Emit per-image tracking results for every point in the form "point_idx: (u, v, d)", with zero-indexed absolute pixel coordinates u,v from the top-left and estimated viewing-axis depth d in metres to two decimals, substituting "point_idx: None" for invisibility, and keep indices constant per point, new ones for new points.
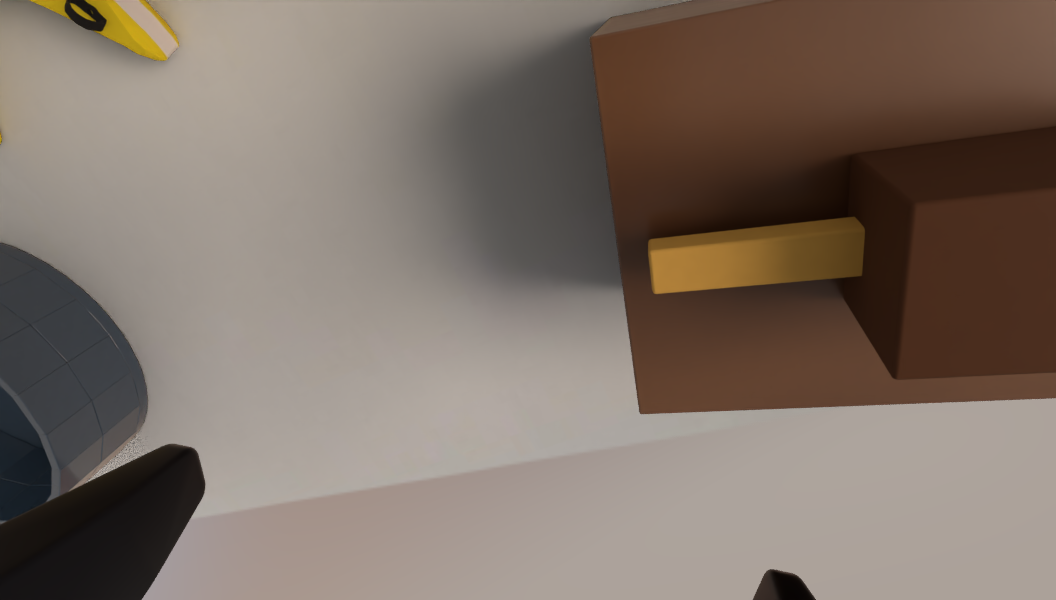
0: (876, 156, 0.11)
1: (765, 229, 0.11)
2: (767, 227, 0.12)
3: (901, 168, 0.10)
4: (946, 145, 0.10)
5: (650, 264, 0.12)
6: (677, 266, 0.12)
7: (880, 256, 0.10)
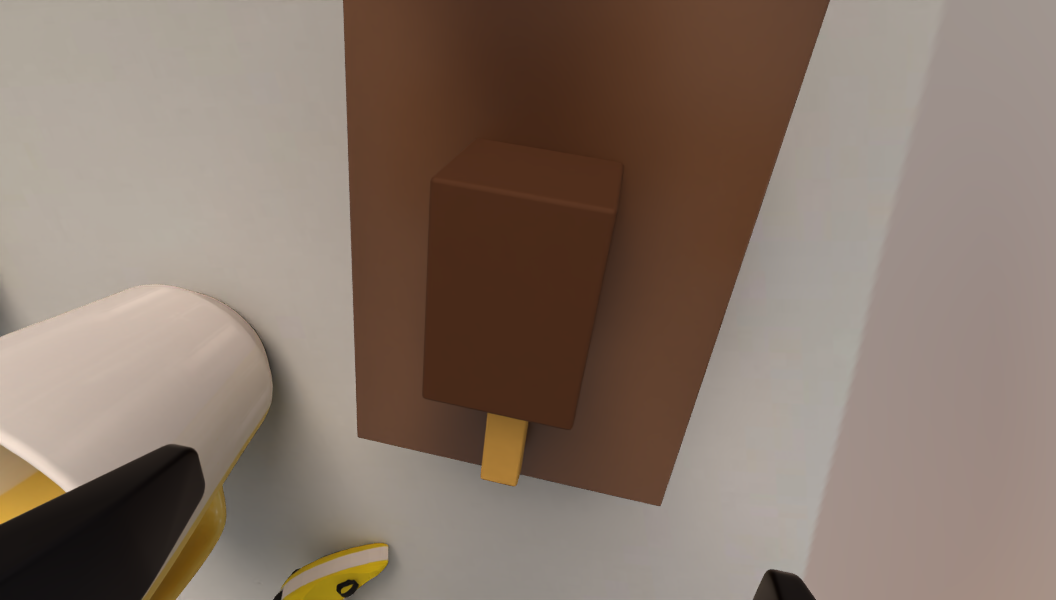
0: None
1: None
2: None
3: None
4: None
5: None
6: (495, 468, 0.15)
7: None
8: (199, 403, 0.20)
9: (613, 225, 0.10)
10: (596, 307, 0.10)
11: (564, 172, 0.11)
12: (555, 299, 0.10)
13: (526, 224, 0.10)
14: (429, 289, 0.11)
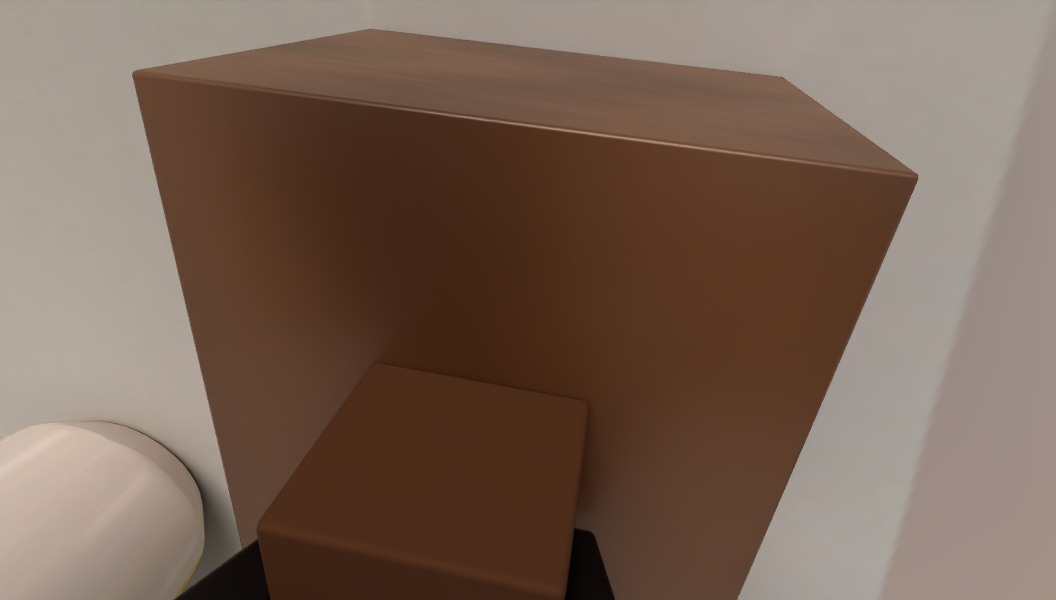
0: None
1: None
2: None
3: None
4: None
5: None
6: None
7: None
8: (90, 595, 0.16)
9: None
10: None
11: (491, 457, 0.07)
12: None
13: (417, 595, 0.06)
14: None
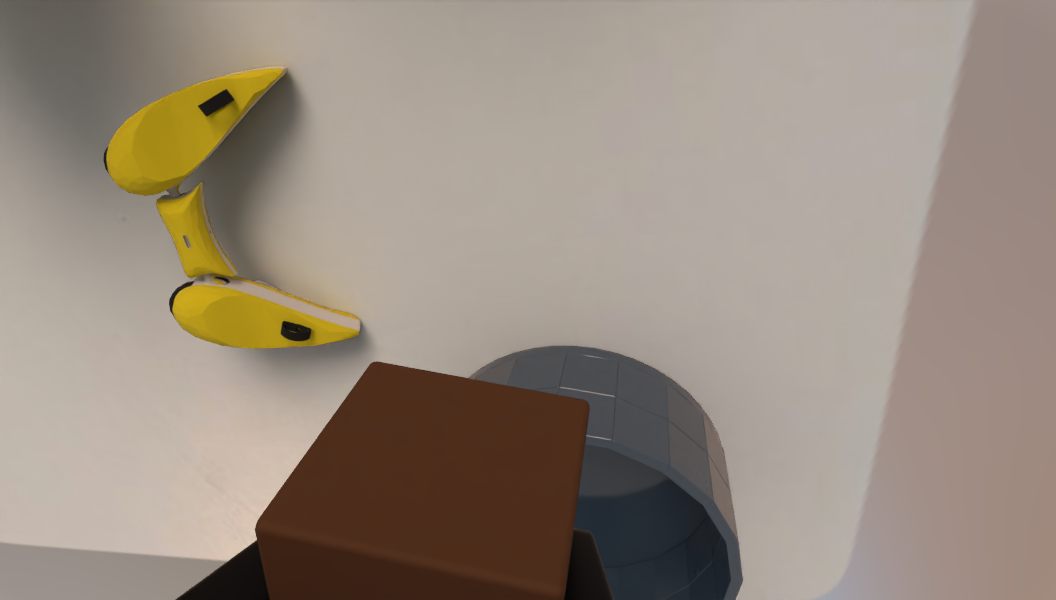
0: None
1: None
2: None
3: None
4: None
5: None
6: None
7: None
8: None
9: None
10: None
11: (491, 456, 0.07)
12: None
13: (417, 594, 0.06)
14: None
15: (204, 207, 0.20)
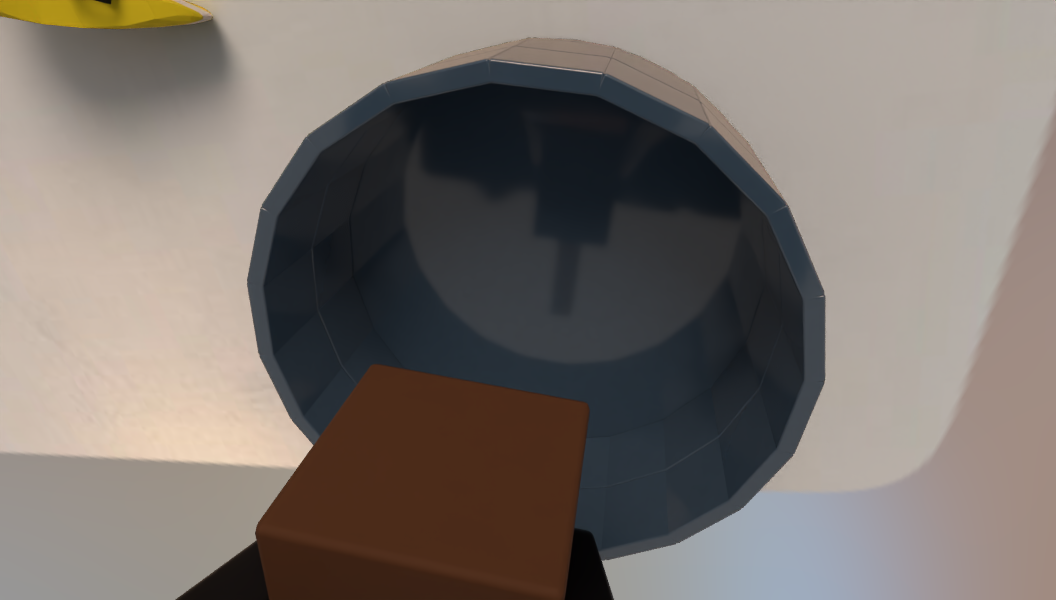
0: None
1: None
2: None
3: None
4: None
5: None
6: None
7: None
8: None
9: None
10: None
11: (490, 459, 0.07)
12: None
13: (416, 599, 0.06)
14: None
15: None
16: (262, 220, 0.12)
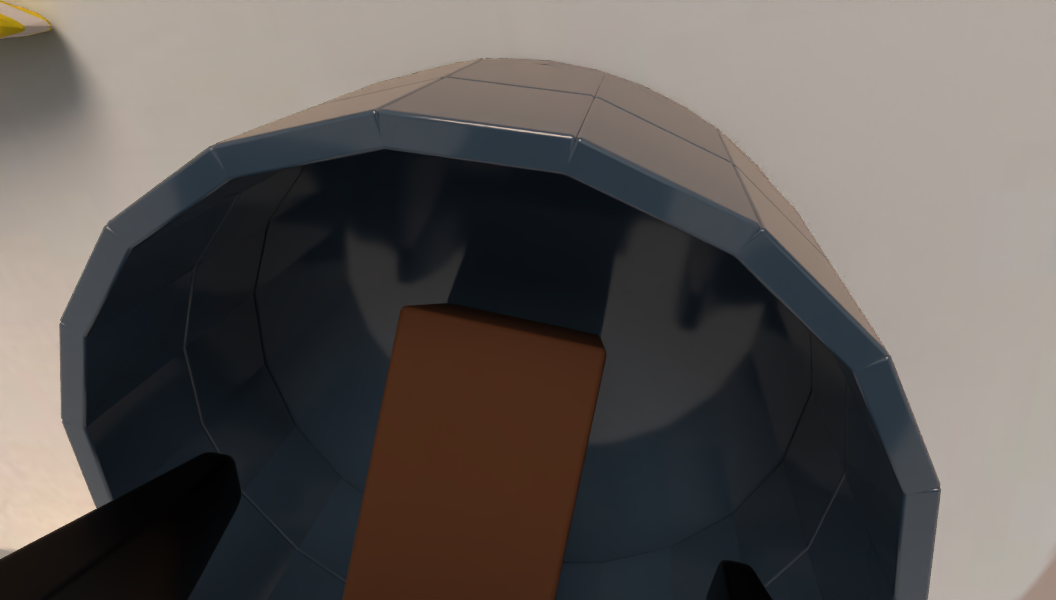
0: None
1: None
2: None
3: None
4: None
5: None
6: None
7: None
8: None
9: (602, 367, 0.09)
10: (580, 471, 0.09)
11: (542, 327, 0.10)
12: (530, 459, 0.09)
13: (504, 362, 0.09)
14: (378, 443, 0.09)
15: None
16: (65, 340, 0.08)
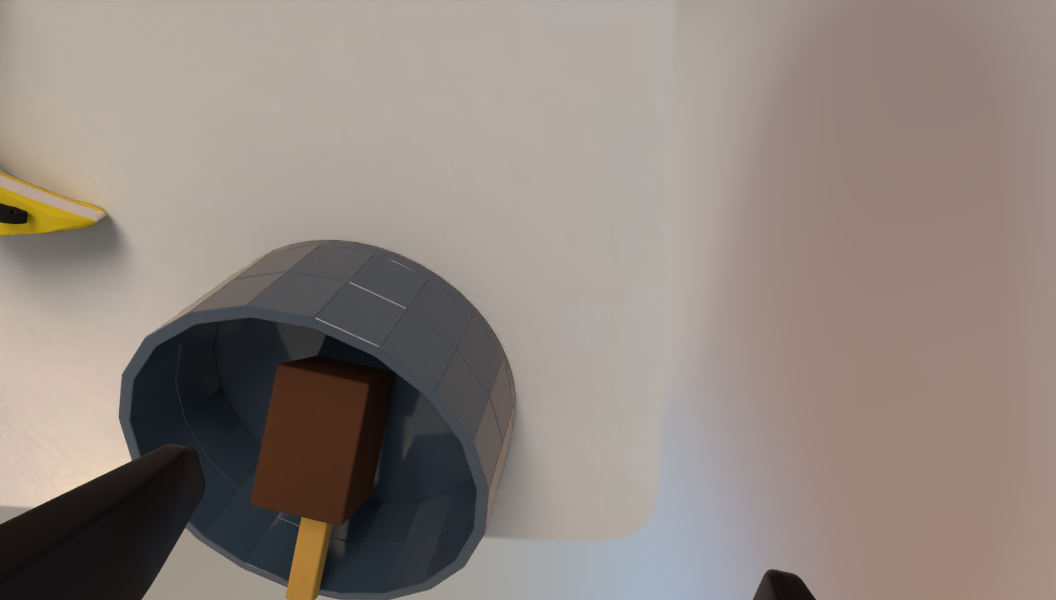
0: None
1: None
2: None
3: None
4: None
5: None
6: (297, 587, 0.21)
7: None
8: None
9: (367, 392, 0.19)
10: (358, 439, 0.19)
11: (355, 371, 0.21)
12: (335, 434, 0.19)
13: (323, 390, 0.19)
14: (266, 427, 0.19)
15: None
16: (123, 382, 0.18)
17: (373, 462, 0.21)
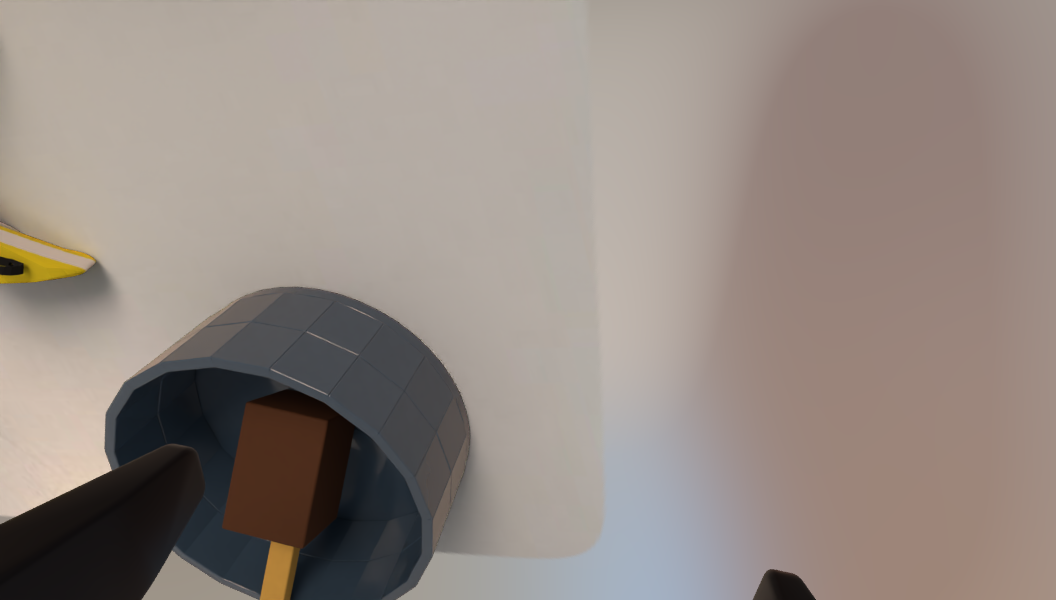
0: None
1: None
2: None
3: None
4: None
5: None
6: None
7: None
8: None
9: (326, 428, 0.21)
10: (318, 470, 0.21)
11: (319, 406, 0.23)
12: (297, 465, 0.21)
13: (287, 425, 0.21)
14: (236, 459, 0.21)
15: None
16: (107, 419, 0.20)
17: (337, 488, 0.23)
